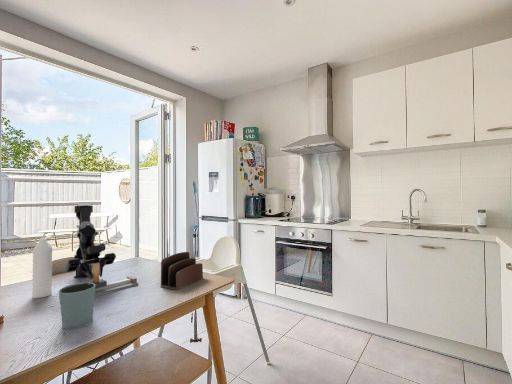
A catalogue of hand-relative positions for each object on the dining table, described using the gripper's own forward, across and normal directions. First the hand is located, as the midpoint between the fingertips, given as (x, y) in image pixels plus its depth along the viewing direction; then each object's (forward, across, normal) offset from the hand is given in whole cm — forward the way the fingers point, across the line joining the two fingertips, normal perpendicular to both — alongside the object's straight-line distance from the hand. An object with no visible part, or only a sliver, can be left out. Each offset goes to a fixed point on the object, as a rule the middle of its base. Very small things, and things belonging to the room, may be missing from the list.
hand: (96, 277), depth 114 cm
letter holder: (+17, +33, -6) cm, 38 cm away
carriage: (+2, 0, +4) cm, 4 cm away
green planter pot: (+23, -14, -13) cm, 30 cm away
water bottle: (-7, -15, +17) cm, 24 cm away
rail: (+4, +4, +6) cm, 8 cm away
